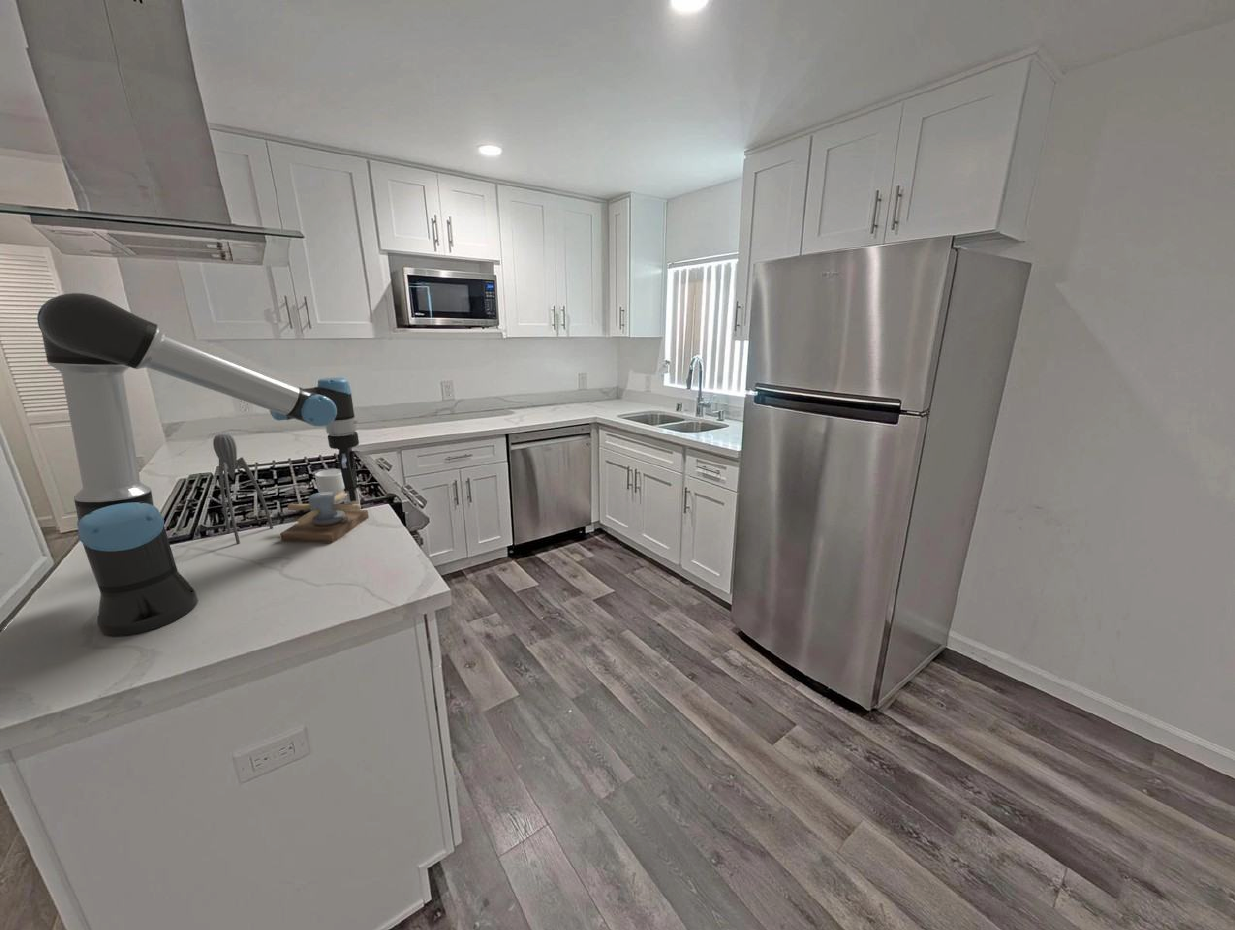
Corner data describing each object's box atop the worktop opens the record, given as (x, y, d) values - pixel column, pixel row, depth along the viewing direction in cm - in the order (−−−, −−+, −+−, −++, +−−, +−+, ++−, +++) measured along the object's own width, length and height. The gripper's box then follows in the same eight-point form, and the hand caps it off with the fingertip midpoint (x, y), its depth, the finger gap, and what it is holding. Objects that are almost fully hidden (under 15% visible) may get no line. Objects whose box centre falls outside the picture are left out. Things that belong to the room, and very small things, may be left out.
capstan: (266, 535, 131) (260, 508, 129) (313, 507, 151) (308, 483, 149) (342, 536, 131) (337, 508, 129) (378, 507, 151) (375, 483, 149)
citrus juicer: (238, 544, 133) (211, 439, 124) (209, 541, 135) (180, 437, 126) (274, 527, 144) (251, 430, 135) (246, 524, 146) (222, 428, 137)
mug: (321, 511, 156) (314, 478, 152) (320, 503, 163) (314, 471, 159) (362, 503, 162) (357, 471, 159) (359, 496, 169) (354, 465, 165)
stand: (332, 542, 134) (330, 529, 132) (281, 541, 134) (278, 528, 133) (368, 517, 151) (366, 505, 150) (323, 516, 152) (320, 504, 150)
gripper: (354, 436, 132) (367, 515, 139) (359, 427, 143) (371, 500, 150) (323, 439, 129) (338, 519, 136) (331, 429, 140) (344, 503, 147)
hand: (355, 509), depth 143 cm, fingers closed
